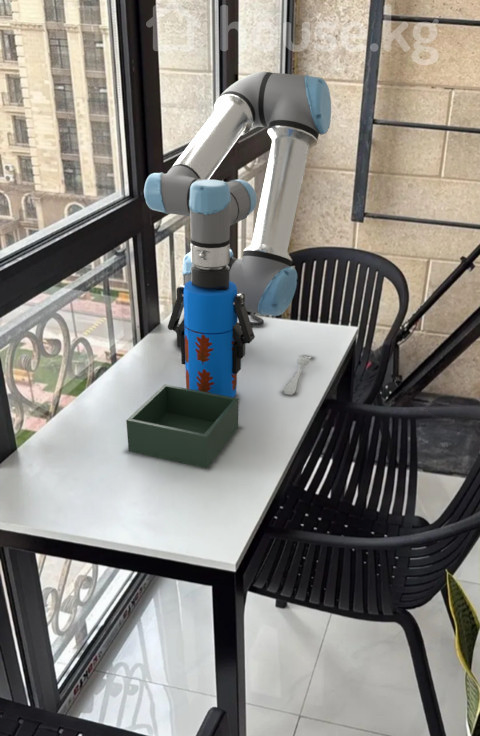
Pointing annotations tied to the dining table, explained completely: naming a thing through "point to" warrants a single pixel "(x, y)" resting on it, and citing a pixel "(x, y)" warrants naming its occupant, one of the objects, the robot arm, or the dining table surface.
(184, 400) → the box
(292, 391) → the fork
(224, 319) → the thermos
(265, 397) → the dining table surface
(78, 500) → the dining table surface
